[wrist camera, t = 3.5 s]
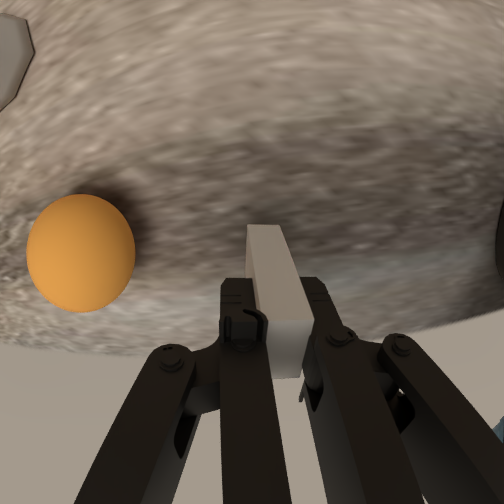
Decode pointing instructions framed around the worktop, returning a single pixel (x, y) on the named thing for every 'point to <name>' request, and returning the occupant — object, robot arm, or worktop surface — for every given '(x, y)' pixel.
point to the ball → (80, 253)
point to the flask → (13, 55)
